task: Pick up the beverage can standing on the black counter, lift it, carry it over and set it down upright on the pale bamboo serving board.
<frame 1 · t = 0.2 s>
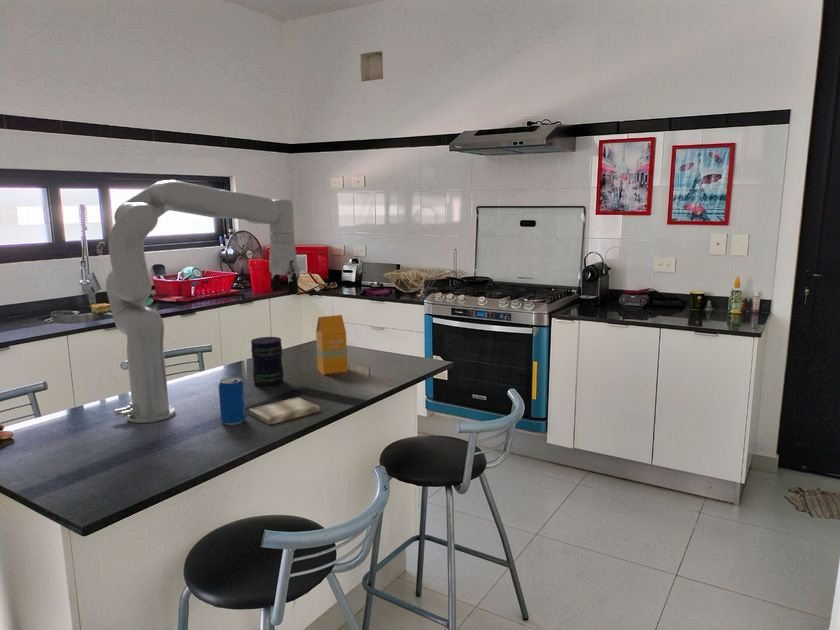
hand: (285, 292, 201), 31 cm above the countertop, tool pointing down, fingers open, 9 cm apart
beverage can: (233, 422, 172), on the countertop
bamboo board: (284, 412, 179), on the countertop
orange juice: (332, 371, 222), on the countertop
storage jar: (268, 384, 208), on the countertop
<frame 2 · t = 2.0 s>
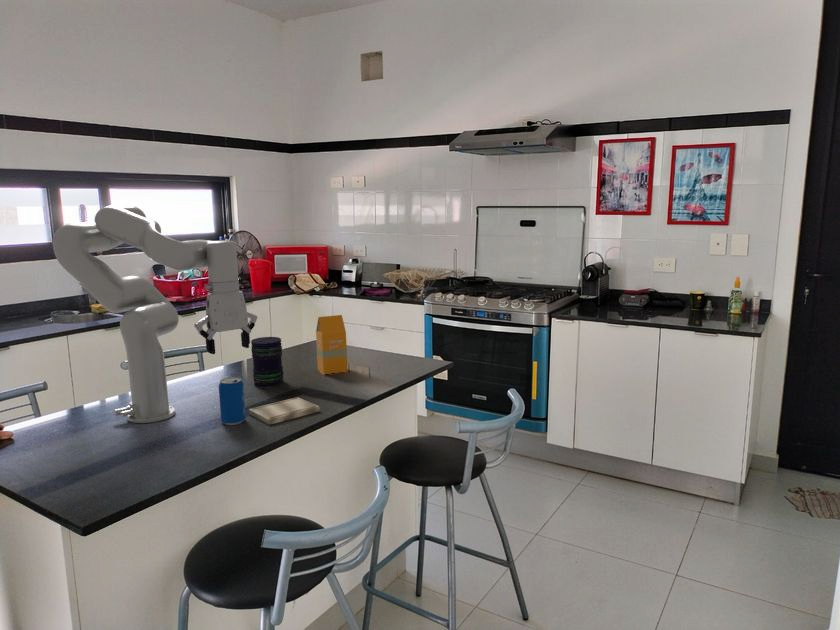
hand: (228, 350, 169), 20 cm above the countertop, tool pointing down, fingers open, 9 cm apart
nothing on the countertop moved.
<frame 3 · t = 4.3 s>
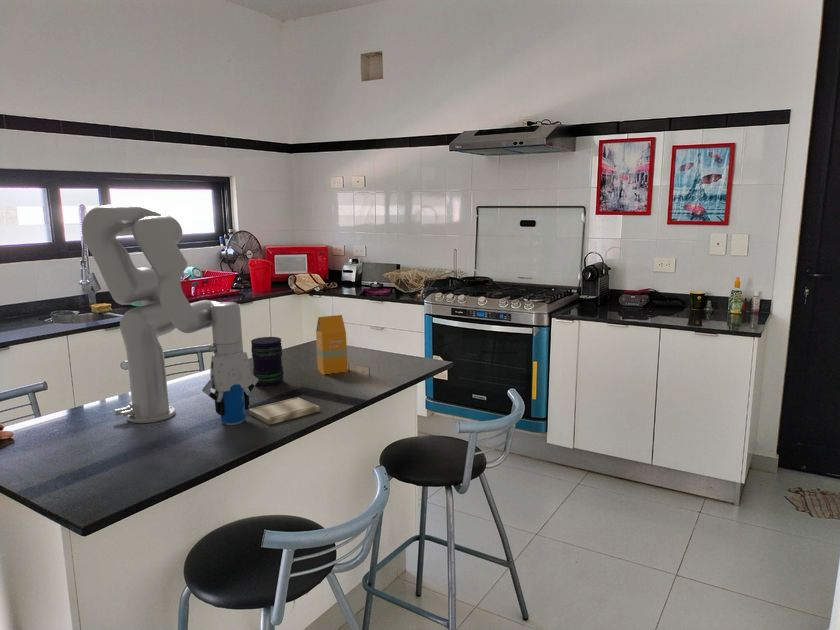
hand: (233, 410, 171), 3 cm above the countertop, tool pointing down, fingers closed on beverage can, 6 cm apart
beverage can: (233, 422, 172), on the countertop, touching gripper
everything else where it was.
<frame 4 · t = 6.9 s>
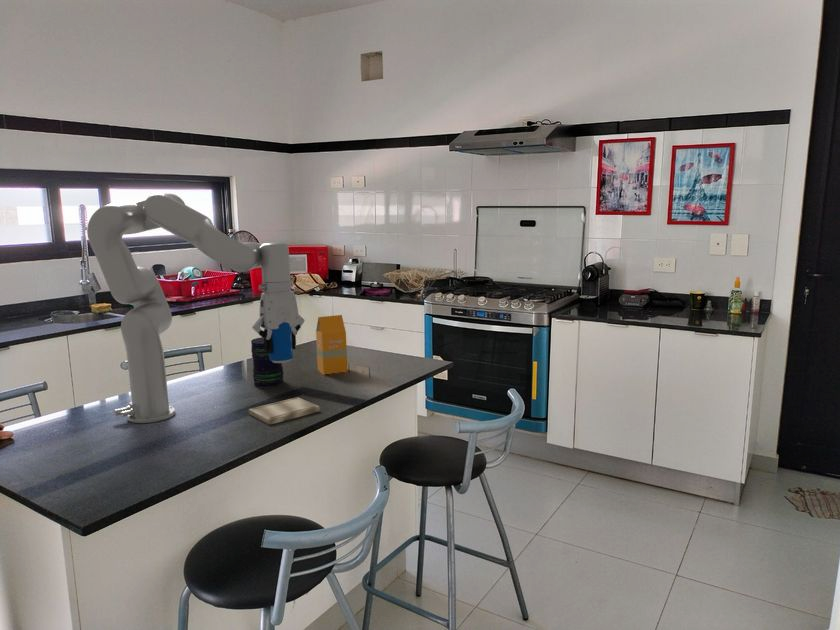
hand: (280, 350, 176), 19 cm above the countertop, tool pointing down, fingers closed on beverage can, 6 cm apart
beverage can: (281, 361, 176), point 15 cm above the countertop, touching gripper
everything else where it was.
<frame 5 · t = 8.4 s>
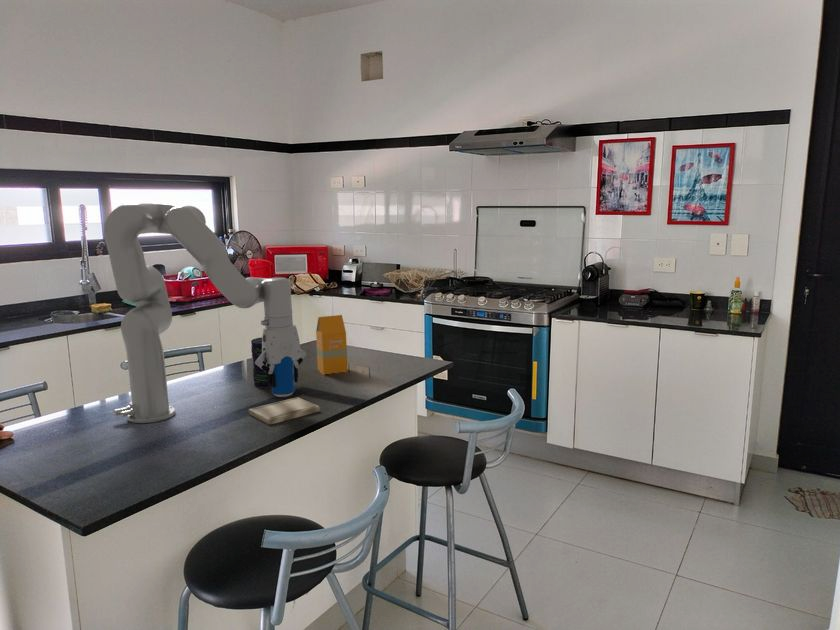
hand: (283, 383, 177), 9 cm above the countertop, tool pointing down, fingers closed on beverage can, 6 cm apart
beverage can: (283, 394, 178), point 5 cm above the countertop, touching gripper
everything else where it was.
when the fingers open (6 cm above the countertop, at t = 9.5 s): beverage can drops 1 cm, resting on bamboo board.
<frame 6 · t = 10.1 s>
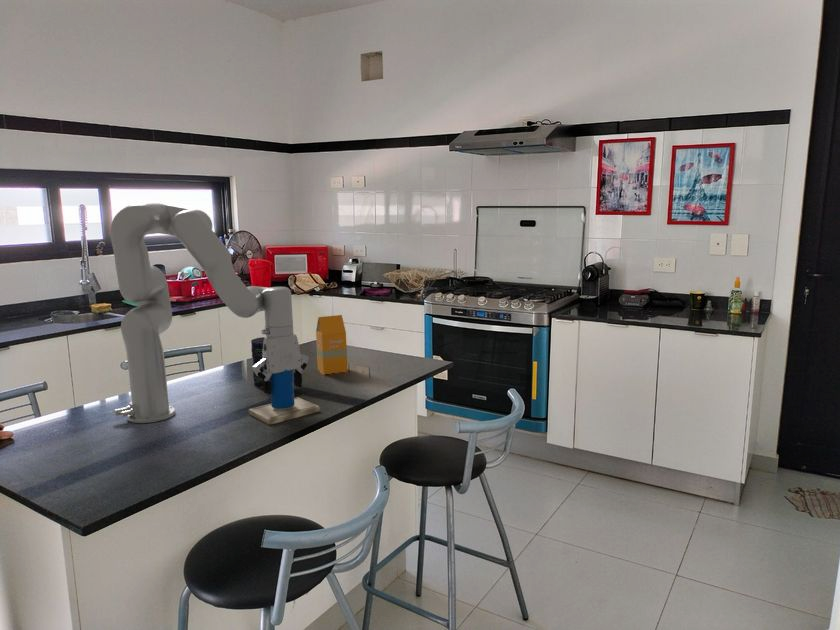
hand: (283, 389, 178), 7 cm above the countertop, tool pointing down, fingers open, 9 cm apart
beverage can: (283, 408, 179), point 1 cm above the countertop, touching bamboo board
everything else where it was.
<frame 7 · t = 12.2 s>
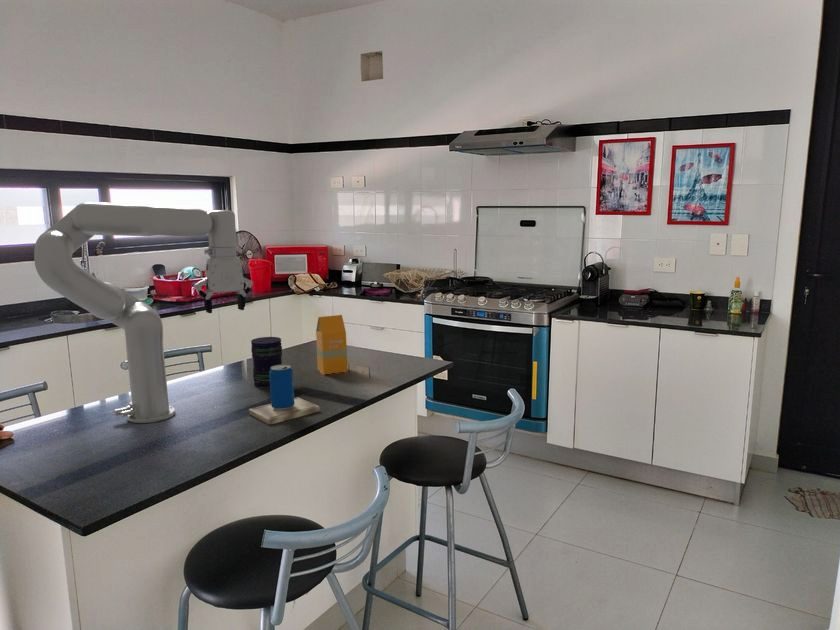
hand: (225, 311, 184), 28 cm above the countertop, tool pointing down, fingers open, 9 cm apart
nothing on the countertop moved.
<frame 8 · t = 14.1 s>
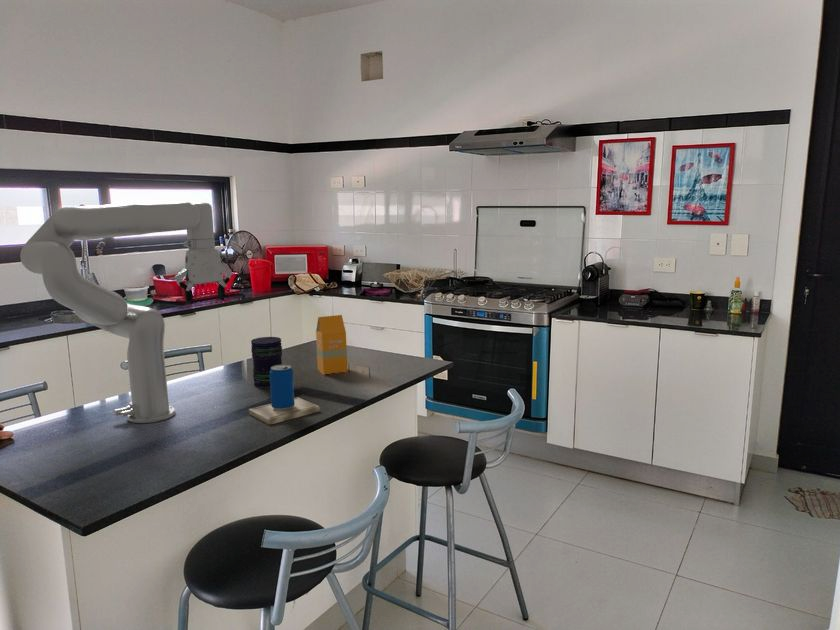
hand: (205, 301, 188), 30 cm above the countertop, tool pointing down, fingers open, 9 cm apart
nothing on the countertop moved.
at the end: beverage can inside the target area on the bamboo board (0.2 cm from its centre), point 1.3 cm above the bamboo board's base; beverage can tilted 1°; the gripper is holding nothing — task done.
